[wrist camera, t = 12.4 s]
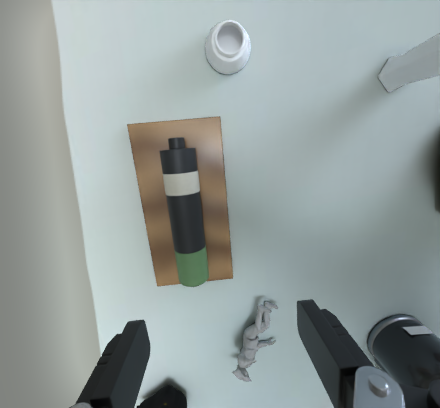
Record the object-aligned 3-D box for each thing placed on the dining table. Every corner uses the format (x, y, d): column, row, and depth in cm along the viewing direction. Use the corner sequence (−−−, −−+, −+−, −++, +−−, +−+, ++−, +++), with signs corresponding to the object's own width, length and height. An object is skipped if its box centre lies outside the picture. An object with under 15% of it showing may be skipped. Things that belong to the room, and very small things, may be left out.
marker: (159, 140, 25) (155, 138, 21) (193, 137, 26) (195, 135, 22) (179, 275, 30) (178, 293, 26) (208, 270, 30) (211, 288, 26)
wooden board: (232, 275, 31) (233, 278, 31) (158, 283, 31) (157, 286, 30) (219, 117, 26) (220, 116, 25) (129, 125, 26) (126, 124, 25)
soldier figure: (286, 301, 34) (274, 379, 33) (259, 291, 37) (247, 362, 36) (265, 313, 28) (250, 408, 27) (235, 299, 31) (220, 385, 30)
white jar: (257, 43, 24) (220, 14, 23) (264, 28, 21) (221, -5, 20) (234, 84, 25) (197, 58, 24) (237, 75, 22) (196, 46, 21)
